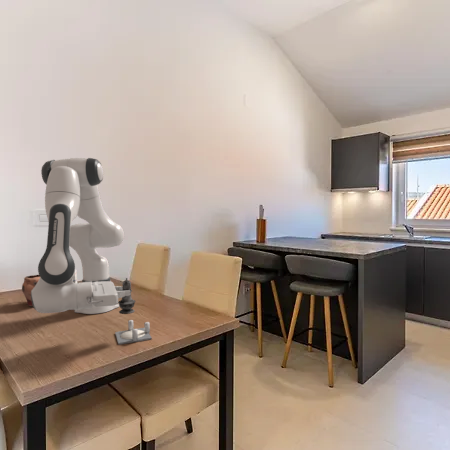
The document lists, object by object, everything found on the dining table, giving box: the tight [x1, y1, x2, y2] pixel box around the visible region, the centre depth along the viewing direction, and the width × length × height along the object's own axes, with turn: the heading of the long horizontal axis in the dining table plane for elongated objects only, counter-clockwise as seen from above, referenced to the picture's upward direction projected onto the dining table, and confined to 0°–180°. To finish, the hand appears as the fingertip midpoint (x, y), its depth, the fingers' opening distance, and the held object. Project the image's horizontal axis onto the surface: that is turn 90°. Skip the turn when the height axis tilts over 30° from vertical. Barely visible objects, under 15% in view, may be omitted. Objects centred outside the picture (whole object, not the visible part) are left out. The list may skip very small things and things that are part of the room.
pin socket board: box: [114, 319, 153, 345], centre depth 120 cm, size 12×11×4 cm
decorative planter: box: [21, 274, 40, 307], centre depth 164 cm, size 20×12×14 cm, turn 43°
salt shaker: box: [118, 277, 136, 315], centre depth 118 cm, size 6×6×12 cm
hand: (129, 290), depth 119 cm, fingers closed on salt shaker, 4 cm apart
